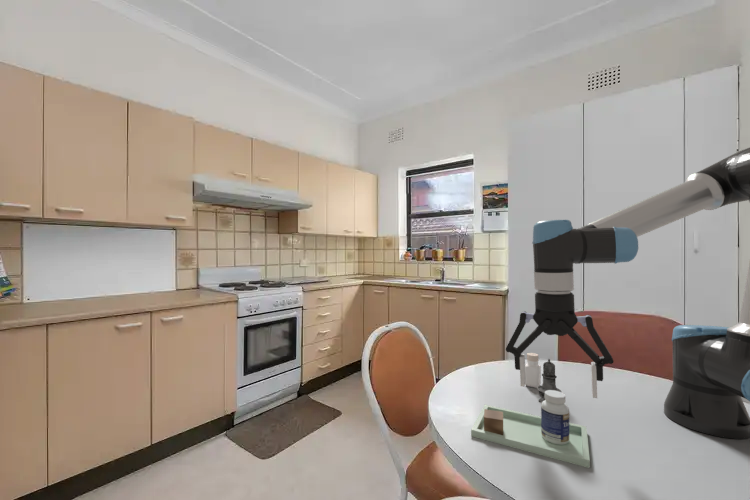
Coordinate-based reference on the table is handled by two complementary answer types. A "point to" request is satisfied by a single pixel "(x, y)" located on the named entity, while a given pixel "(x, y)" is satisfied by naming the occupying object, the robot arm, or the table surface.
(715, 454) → the table surface
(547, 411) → the pill bottle
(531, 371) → the salt shaker
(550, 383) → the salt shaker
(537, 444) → the tray
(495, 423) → the walnut block
